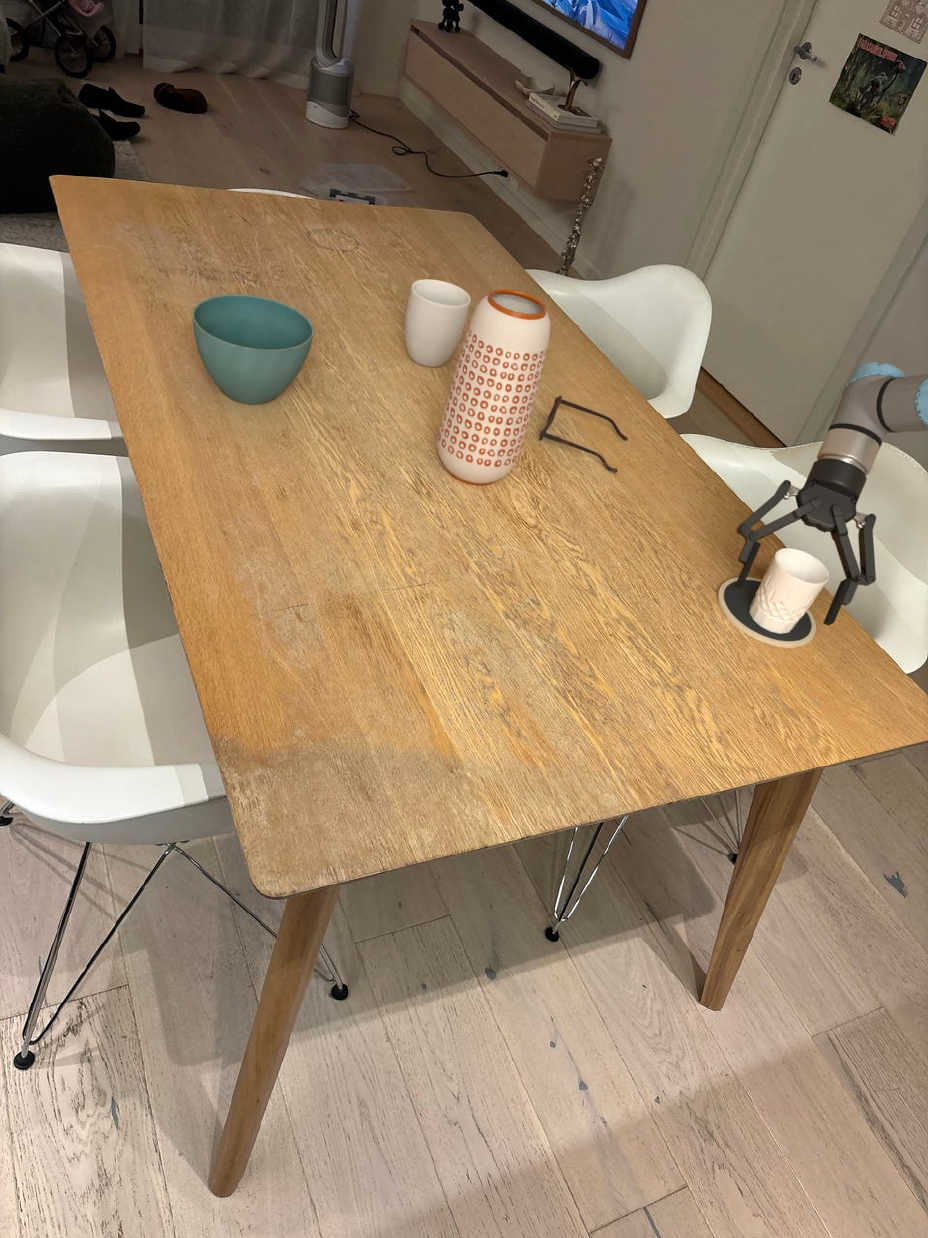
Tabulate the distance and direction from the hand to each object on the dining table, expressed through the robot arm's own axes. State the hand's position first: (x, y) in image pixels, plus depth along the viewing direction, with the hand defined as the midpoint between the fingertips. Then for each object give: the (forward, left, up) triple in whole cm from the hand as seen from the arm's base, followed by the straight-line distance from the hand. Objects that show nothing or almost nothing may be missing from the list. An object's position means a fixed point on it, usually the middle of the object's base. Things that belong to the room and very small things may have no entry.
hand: (783, 604), depth 129 cm
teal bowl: (+83, +33, -5) cm, 89 cm away
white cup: (+1, -2, -5) cm, 5 cm away
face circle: (+3, -4, -5) cm, 7 cm away
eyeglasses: (+48, -13, -5) cm, 50 cm away
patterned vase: (+50, +13, -5) cm, 52 cm away
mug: (+83, -6, -5) cm, 83 cm away
